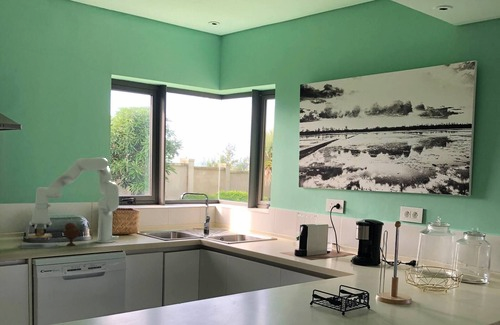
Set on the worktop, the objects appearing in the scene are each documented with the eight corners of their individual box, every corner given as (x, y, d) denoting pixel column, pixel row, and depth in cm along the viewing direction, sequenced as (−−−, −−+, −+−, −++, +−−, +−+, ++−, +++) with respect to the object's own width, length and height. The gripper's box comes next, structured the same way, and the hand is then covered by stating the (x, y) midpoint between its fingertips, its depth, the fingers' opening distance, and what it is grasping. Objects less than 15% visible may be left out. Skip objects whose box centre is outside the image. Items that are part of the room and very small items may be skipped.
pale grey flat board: (57, 243, 334) (57, 242, 334) (58, 247, 318) (58, 247, 318) (21, 244, 326) (21, 243, 326) (20, 248, 309) (20, 247, 309)
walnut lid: (51, 234, 331) (51, 226, 331) (51, 237, 318) (52, 229, 318) (28, 234, 325) (28, 226, 325) (27, 237, 312) (28, 229, 312)
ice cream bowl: (76, 247, 324) (77, 224, 324) (59, 246, 324) (60, 223, 324) (82, 244, 334) (83, 222, 334) (65, 243, 334) (66, 221, 334)
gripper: (55, 206, 328) (53, 233, 328) (27, 205, 322) (25, 233, 322) (55, 207, 322) (54, 235, 321) (27, 206, 315) (25, 235, 315)
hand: (40, 234), depth 321 cm, fingers closed on walnut lid, 4 cm apart
